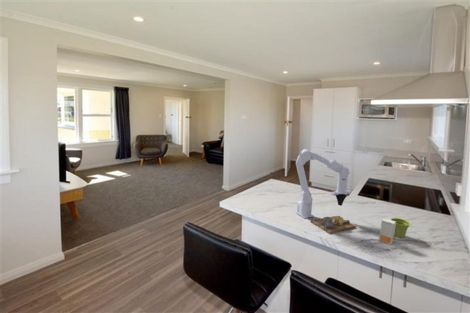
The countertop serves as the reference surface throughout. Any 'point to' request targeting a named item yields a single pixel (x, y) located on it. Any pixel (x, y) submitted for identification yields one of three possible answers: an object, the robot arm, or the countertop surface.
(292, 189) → the countertop surface
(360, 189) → the countertop surface
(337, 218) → the leg
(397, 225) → the plant pot
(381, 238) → the skincare box
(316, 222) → the board
